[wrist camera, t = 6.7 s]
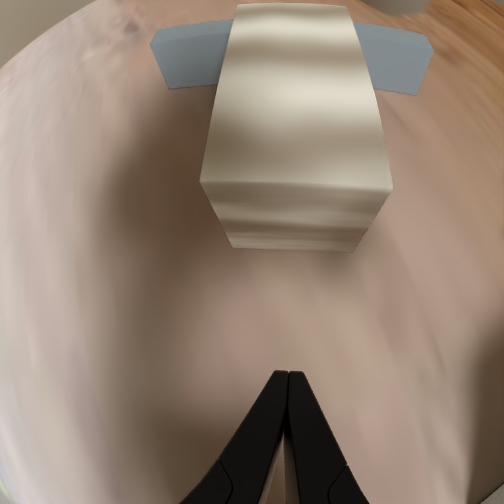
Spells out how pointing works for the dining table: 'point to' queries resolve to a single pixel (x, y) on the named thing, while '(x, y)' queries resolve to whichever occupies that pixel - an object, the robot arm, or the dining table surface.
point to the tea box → (495, 497)
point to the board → (217, 35)
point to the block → (295, 132)
